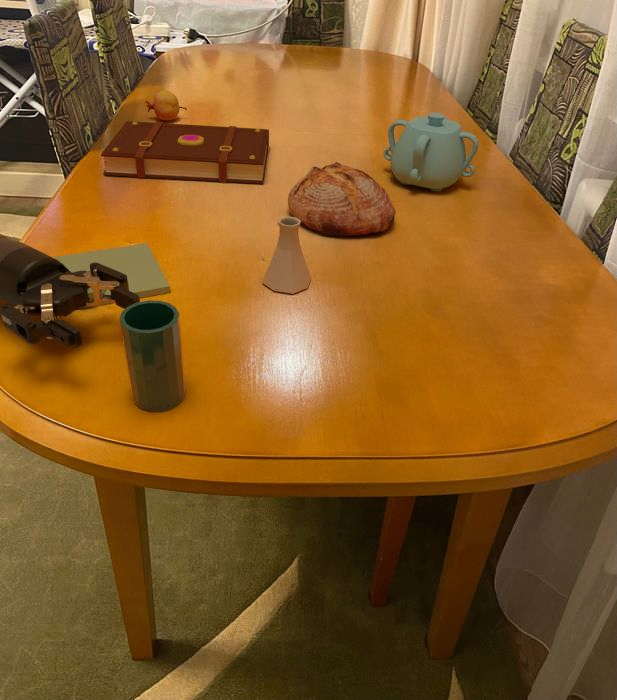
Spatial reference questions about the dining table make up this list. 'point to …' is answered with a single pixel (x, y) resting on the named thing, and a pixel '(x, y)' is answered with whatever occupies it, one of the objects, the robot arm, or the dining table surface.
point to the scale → (123, 268)
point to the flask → (288, 260)
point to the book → (188, 152)
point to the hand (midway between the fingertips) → (109, 322)
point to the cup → (153, 354)
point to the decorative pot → (430, 152)
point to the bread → (341, 202)
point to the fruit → (165, 105)
